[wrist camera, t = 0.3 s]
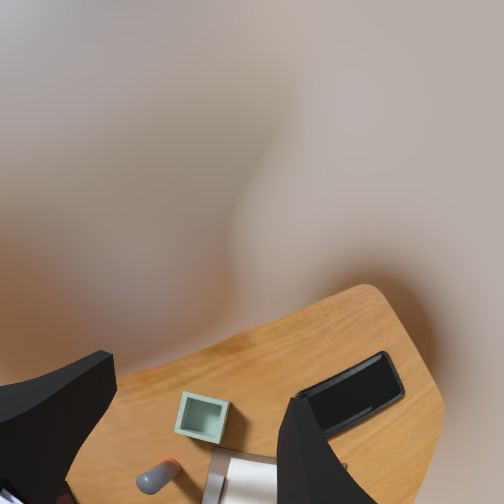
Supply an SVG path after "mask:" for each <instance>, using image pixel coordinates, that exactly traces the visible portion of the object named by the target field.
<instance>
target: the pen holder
mask: <svg viewBox="0 0 504 504" xmlns="http://www.w3.org/2000/svg"><path fill="white" fill-rule="evenodd" d="M230 403H231V402H229V401H225V400H220V399H216V398H212V397H208V396H204V395H200V394H196V393H192V392H187V391H184V392H183V396H182V400H181V404H180V408H179V413H178V417H177V421H176V425H175V430H174V432H176V433H179V434H183V435H186V436H190V437H193V438H197V439H201V440H204V441H208V442H212V443H217V444H219V443H220V442H221V441H222V438H223V434H224V429H225V425H226V421H227V416H228V412H229V407H230Z"/></svg>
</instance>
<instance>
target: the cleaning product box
mask: <svg viewBox="0 0 504 504" xmlns="http://www.w3.org/2000/svg"><path fill="white" fill-rule="evenodd" d="M22 503H23V502H22ZM23 504H25V503H23ZM56 504H77V503H76V501H75V499H74V497H73V495H72V492H71V490H70V488H69V486H68V484H67V481H64V483H63V486H62V488H61V491H60V494H59V497H58V500H57V503H56Z"/></svg>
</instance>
